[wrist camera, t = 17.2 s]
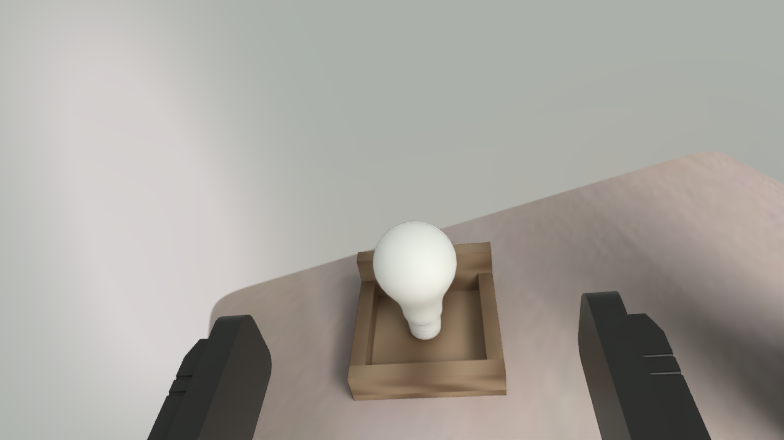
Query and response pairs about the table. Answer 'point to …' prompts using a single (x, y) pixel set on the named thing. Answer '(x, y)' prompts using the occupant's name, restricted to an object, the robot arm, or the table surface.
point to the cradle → (436, 355)
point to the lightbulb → (416, 273)
